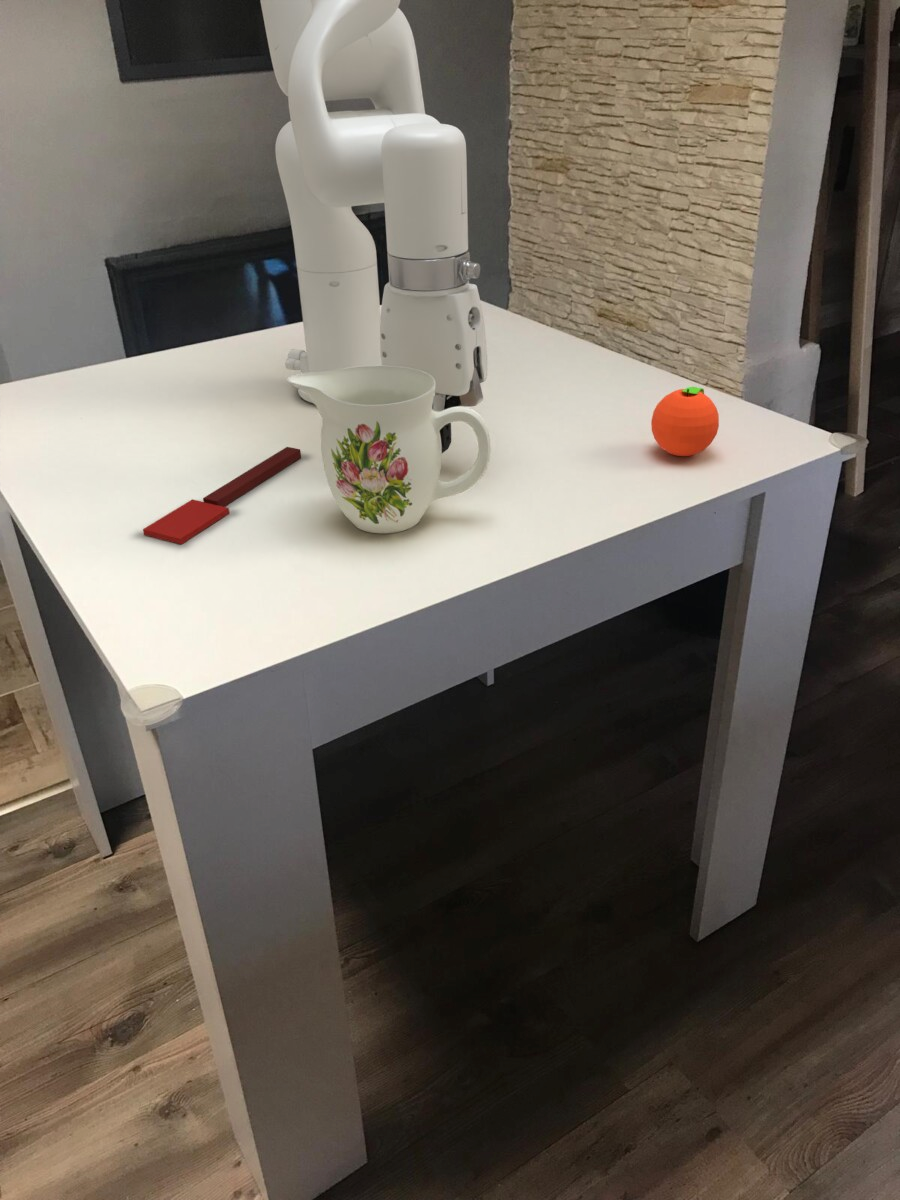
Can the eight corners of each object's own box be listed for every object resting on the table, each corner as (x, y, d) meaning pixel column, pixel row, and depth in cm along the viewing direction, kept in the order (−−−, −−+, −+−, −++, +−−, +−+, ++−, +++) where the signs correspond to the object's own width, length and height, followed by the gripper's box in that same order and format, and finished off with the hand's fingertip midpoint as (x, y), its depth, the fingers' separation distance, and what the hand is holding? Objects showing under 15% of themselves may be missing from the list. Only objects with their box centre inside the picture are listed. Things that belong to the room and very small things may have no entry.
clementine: (669, 433, 107) (675, 371, 103) (729, 445, 104) (737, 381, 100) (637, 458, 102) (642, 393, 98) (699, 472, 98) (707, 405, 94)
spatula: (143, 534, 90) (141, 525, 90) (277, 452, 106) (276, 444, 105) (181, 544, 88) (179, 535, 88) (312, 459, 104) (311, 451, 103)
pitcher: (487, 546, 86) (486, 400, 79) (291, 543, 88) (272, 399, 81) (494, 493, 95) (493, 358, 88) (316, 491, 97) (301, 358, 90)
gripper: (517, 269, 90) (516, 451, 100) (382, 255, 96) (393, 427, 106) (481, 288, 84) (483, 479, 94) (340, 272, 91) (355, 453, 100)
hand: (435, 451), depth 100 cm, fingers closed
